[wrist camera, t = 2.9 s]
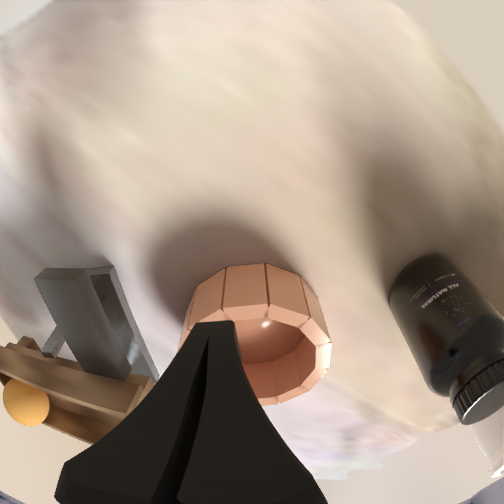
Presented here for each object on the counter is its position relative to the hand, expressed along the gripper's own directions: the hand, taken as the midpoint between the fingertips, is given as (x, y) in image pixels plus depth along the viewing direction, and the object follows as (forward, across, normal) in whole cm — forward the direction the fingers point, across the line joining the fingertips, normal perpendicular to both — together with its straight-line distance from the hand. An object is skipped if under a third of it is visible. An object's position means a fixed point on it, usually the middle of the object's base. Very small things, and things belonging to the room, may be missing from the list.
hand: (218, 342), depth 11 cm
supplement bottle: (+11, -14, +7) cm, 19 cm away
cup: (+10, -1, +8) cm, 13 cm away
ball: (+2, +17, +8) cm, 19 cm away
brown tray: (+5, +12, +5) cm, 14 cm away
